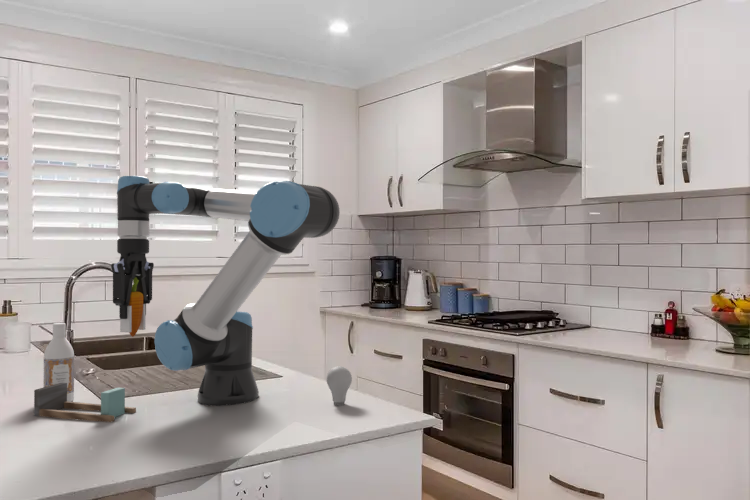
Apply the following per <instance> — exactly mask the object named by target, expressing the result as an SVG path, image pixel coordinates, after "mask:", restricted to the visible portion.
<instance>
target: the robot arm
mask: <svg viewBox="0 0 750 500" xmlns="http://www.w3.org/2000/svg"><path fill="white" fill-rule="evenodd" d="M116 194H117V197H116V200H117V204H116V205H117V207H116V209H117V210H116V213H117V237H119V238H118V240H117V241H116V242H117V243H116V244H117V247H116V251H117V254H118V255H120V258H119V259H118V262H117V263H111V265H110V267H111V271H112V303H113V304H115V306H116V307H117V306H118V307H119V311H118V312H119V322H120V326H119V332H120V333H129V332H132V306H128V305H129V302H130V296H131V290H132V285H133V279H134V278H135V277H137V279H138V280H139V282H138V284H137V288H136V291H138V292H141V293H142V294H143V313H142V319H141V323H140V326H139V329H138V331H140V330H142V331H144V330H146V315H147V304H148V305H149V304H150V303H151V301H153V271H154V266H155V265H154V262H149V261H148V260H147V257H146V254H149V253H150V240H149V239H148V238H149V237H150V215H151V214H152V215H156V214H158V215H159V214H160V215H161V214H162V215H163V214H164V215H176V216H177V215H179V216H194V217H203V218H216V219H224V220H225V219H226V220H234V221H243V222H247V226H248V230H249V231H248V232H247V234H246V235H245V237H244V238H243V239H242V241H241V242H240V243H239V244H238V246H237V247H236V249H235V250H234V252H233V253H232V254H231V255H230V257H229V258H228V259H227V261H226V262H225V264H224V265H223V266H222V268H221V269H220V271H219V272H218V273H217V274H216V276H215V277H214V278H213V280H212V281H211V283H210V284H209V285H208V286H207V288H206V289H205V290H204V292H202V295H200V297H199V299H198V300H197V302H192V303H188V304H186V305H185V306H184V307H183V309H181V311H180V313H179V314H178V316H177V317H176V318H175V319H173V320H172V319H167V320H166V321H163V322H162V323H161V324H159V325H158V326H157V329H156V331H155V334H154V342H153V343H154V346H155V347H154V348H155V349H154V350H155V354H156V356H157V358H158V359H159V361H160V363H161V364H162V365H163V366H164V367H165V368H166V369H168V370H171V371H174V372H175V371H188V370H190V369H194V368H199V367H203V366H204V367H205V368H204V369H205V370H204V373H203V375H202V376H203V377H202V379H201V384H200V386H199V389H198V392H197V402H198V403H199V404H201V405H205V406H215V407H221V406H222V407H224V406H225V407H226V406H235V405H241V404H242V405H243V404H246V403H250V402H253V401H255V400H257V399H258V398H259V392H260V391H259V387H258V385H257V381H256V379H255V375H254V372H253V366H252V365H253V362H252V361H253V329H254V326H253V322H252V321H253V317H252V314H250V313H249V312H247V311H239V310H240V309H241V307H242V306H243V304H244V303H245V302H246V300H247V299H248V298H249V296H250V295H251V294H252V293H253V292H254V291H255V289H256V288H257V286H258V285H259V284H260V282H262V280H263V279H264V278H265V277H266V275H267V274H268V272H269V271H270V270H271V269H272V267H273V266H274V265H275V263H276V262H277V261H278V259H279V258H280V257H281V256H283V255H284V256H285V255H290V254H292V253H293V252H294V250H295V249H296V248H297V246H299V244H301V241H302V240H304V238H305V239H307V238H309V239H310V238H311V239H313V238H320V237H324V236H326V235H328V234H330V233H331V232H332V231H333V230H334V228H336V226H337V225H338V223H339V219H340V205H339V202H338V200H337V198H336V197H335V196H334V195H333V193H331V192H330V191H329V190H328V189H326V188H323V187H321V186H315V185H310V184H302V183H297V182H293V181H291V180H278V181H276V180H275V181H271V182H269V183H266V184H264V185H263V186H262V187H260V188H259V189H258V190H256V191H252V190H240V189H239V190H238V189H228V188H227V189H225V188H212V187H211V188H210V187H201V186H191V185H190V186H189V185H185V184H182V183H180V182H177V181H164V182H156V183H150V179H149V178H148V177H147V176H143V175H142V176H141V175H123V176H120V177H119V178H118V180H117V191H116ZM124 299H125V300H124Z"/></svg>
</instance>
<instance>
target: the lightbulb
mask: <svg viewBox="0 0 750 500" xmlns="http://www.w3.org/2000/svg"><path fill="white" fill-rule="evenodd" d="M352 382H353V377H352V373H351V372H350V370H349V369H348V368H347V367H344V366H340V365H338V366H334V367H331V369H330V370H329V371H328V373H327V375H326V384H327V386H328V388H329V390H330V392H331V395H332V397H331V398H332V401H333V406H334V407H335V406H337V407H341V406H344V405H345V402H346V400H347V393H348V390H349V388H350V387H351V385H352Z"/></svg>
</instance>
